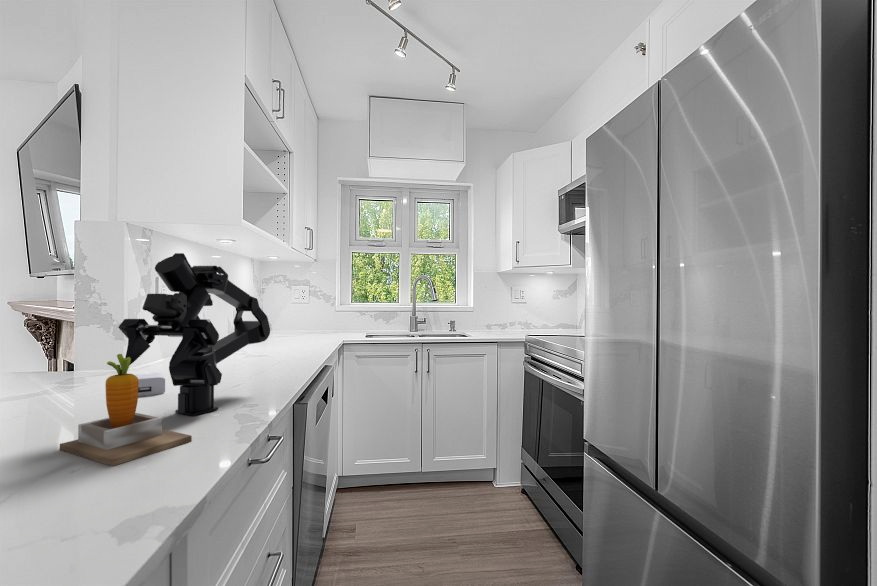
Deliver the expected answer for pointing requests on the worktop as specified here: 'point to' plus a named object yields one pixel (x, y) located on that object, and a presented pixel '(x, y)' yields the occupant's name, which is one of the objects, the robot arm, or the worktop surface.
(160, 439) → the holder
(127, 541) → the worktop surface
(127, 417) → the carrot
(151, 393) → the charger
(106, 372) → the worktop surface
